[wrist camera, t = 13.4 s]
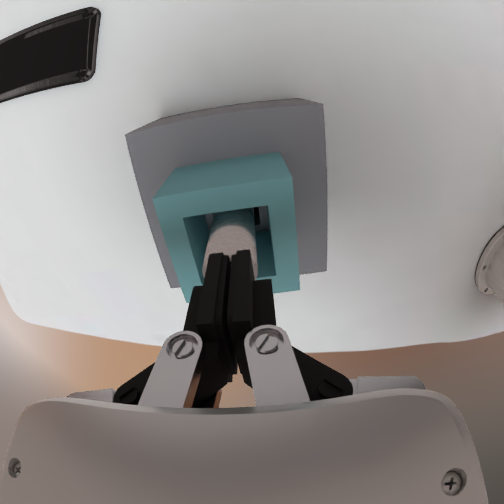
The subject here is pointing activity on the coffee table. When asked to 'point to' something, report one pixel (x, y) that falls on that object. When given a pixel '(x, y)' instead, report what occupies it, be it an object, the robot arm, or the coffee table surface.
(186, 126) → the bearing block
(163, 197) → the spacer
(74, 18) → the phone
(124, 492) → the robot arm
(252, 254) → the shaft
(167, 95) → the coffee table surface
